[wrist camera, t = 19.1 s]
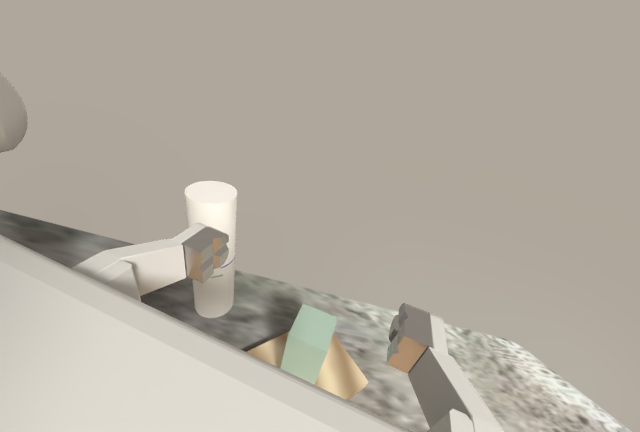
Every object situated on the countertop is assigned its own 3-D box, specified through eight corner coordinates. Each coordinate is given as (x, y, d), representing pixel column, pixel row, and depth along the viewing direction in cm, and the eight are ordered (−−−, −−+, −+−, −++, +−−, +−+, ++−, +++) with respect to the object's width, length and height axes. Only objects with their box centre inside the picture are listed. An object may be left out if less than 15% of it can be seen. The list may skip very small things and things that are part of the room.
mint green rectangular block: (310, 395, 38) (327, 351, 31) (277, 380, 38) (288, 334, 32) (321, 361, 42) (337, 317, 36) (291, 348, 43) (302, 303, 37)
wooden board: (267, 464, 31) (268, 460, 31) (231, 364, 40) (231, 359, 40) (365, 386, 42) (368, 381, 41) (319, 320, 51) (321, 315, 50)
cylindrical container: (240, 303, 50) (247, 195, 38) (208, 325, 45) (202, 209, 32) (220, 283, 54) (219, 177, 41) (187, 301, 48) (174, 187, 36)
